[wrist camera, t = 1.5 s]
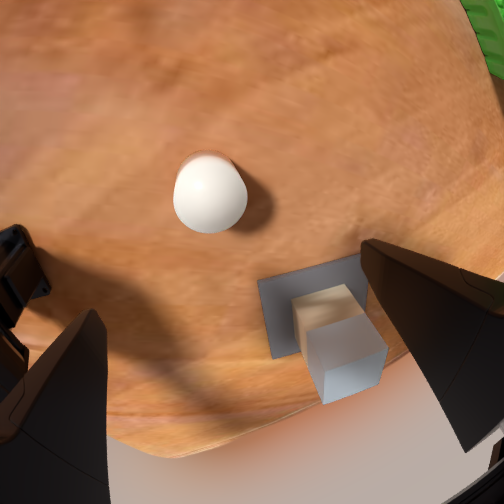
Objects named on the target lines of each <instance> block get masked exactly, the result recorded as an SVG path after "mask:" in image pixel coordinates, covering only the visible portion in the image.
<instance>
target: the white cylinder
mask: <svg viewBox="0 0 504 504" xmlns="http://www.w3.org/2000/svg"><path fill="white" fill-rule="evenodd" d="M173 201H174V208H175V211H176V214H177V215H178V217H179V219H180V220H181V221H182V222H183V223H184V224H185V225H186V226H187V227H189V228H190V229H192V230H195V231H197V232H201V233H217V232H221V231H224V230H226V229H228V228H230V227H231V226H233V225H234V224H235V223H236V222H237V221H238V220H239V219H240V218H241V216H242V215H243V213H244V211H245V208H246V205H247V190H246V186H245V184H244V182H243V180H242V179H241V177H240V175H239V173H238V172H237V170H236V168H235V166H234V165H233V163H232V162H231V160H230V159H229V158H228V157H227V156H225V155H224V154H222V153H220V152H218V151H214V150H201V151H197V152H195V153H192V154H191V155H189V156H188V157H187V158H186V159H185V160H184V161H183V162H182V163H181V165H180V167H179V169H178V172H177V176H176V183H175V190H174V199H173Z"/></svg>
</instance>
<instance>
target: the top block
mask: <svg viewBox="0 0 504 504" xmlns="http://www.w3.org/2000/svg"><path fill="white" fill-rule="evenodd" d="M306 336H307V356H308V370H309V372H310V375H311V377H312V379H313V382H314V384H315V387H316V389H317V391H318V394H319V396H320V399H321V401H322V403H323V405H325V404H328V403H331V402H333V401H336V400H339V399H342V398H345V397H347V396H350V395H353V394H355V393H358V392H361V391H363V390H365V389H368V388H371V387H373V386H375V385H378V384H379V381H380V378H381V374H382V371H383V368H384V364H385V360H386V357H387V353H388V349H389V347H388V346H387V344H386V343H385V341H384V340H383V338H382V337H381V335H380V334H379V332H378V331H377V330H376V328H375V327H374V325H373V324H372V322H371V321H370V319H369V318H368V316H367V315H366V314H365V313H363V314H360V315H357V316H354V317H351V318H348V319H345V320H342V321H339V322H336V323H332V324H329V325H326V326H323V327H320V328H316V329H313V330H310V331H306Z"/></svg>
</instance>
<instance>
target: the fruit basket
mask: <svg viewBox="0 0 504 504" xmlns="http://www.w3.org/2000/svg"><path fill="white" fill-rule="evenodd" d="M460 1H461V3H462V5H463V6H464V8H465V9H466V10H467V11H466V12H467V15H468V17H469V20H470V22H471V24H472V26H473V29H474V30H475V32H476V33H477V34H476V35H477V38H478V41H479V44H480V46H481V49H482V51H483V53H484V55H485V60H486V63H487V66H488V69H489V72H490V73H491V74H493V75H495V76H497V77H499V78H501V79H503V80H504V0H460Z"/></svg>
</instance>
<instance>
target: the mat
mask: <svg viewBox="0 0 504 504" xmlns="http://www.w3.org/2000/svg"><path fill="white" fill-rule="evenodd" d="M257 282H258V288H259V293H260V298H261V303H262V308H263V313H264V319H265V324H266V329H267V334H268V339H269V345H270V350H271V355H272V359H277V358H280V357H284V356H287V355H291V354H294V353H298V352H301V350H300V348H299V346H298V343H297V341H296V339H295V332H294V322H293V312H292V303H291V299H293V298H297V297H300V296H304V295H308V294H311V293H315V292H318V291H322V290H325V289H329V288H332V287H335V286H339V285H342V284H345V285H346V287H347V288H348V289H349V291H350V292H351V294H352V295H353V296H354V298H355V299H356V301H357V302H358V304H359V305H360V306H361V308H362V309H363V311H364V312H365V307H366V298H367V288H368V280H367V278H366V276H365V274H364V272H363V270H362V268H361V265H360V254H356V255H353V256H349V257H345V258H342V259H338V260H334V261H331V262H327V263H323V264H320V265H316V266H312V267H308V268H305V269H301V270H297V271H293V272H289V273H285V274H282V275H278V276H274V277H270V278H266V279H262V280H258V281H257Z"/></svg>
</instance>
